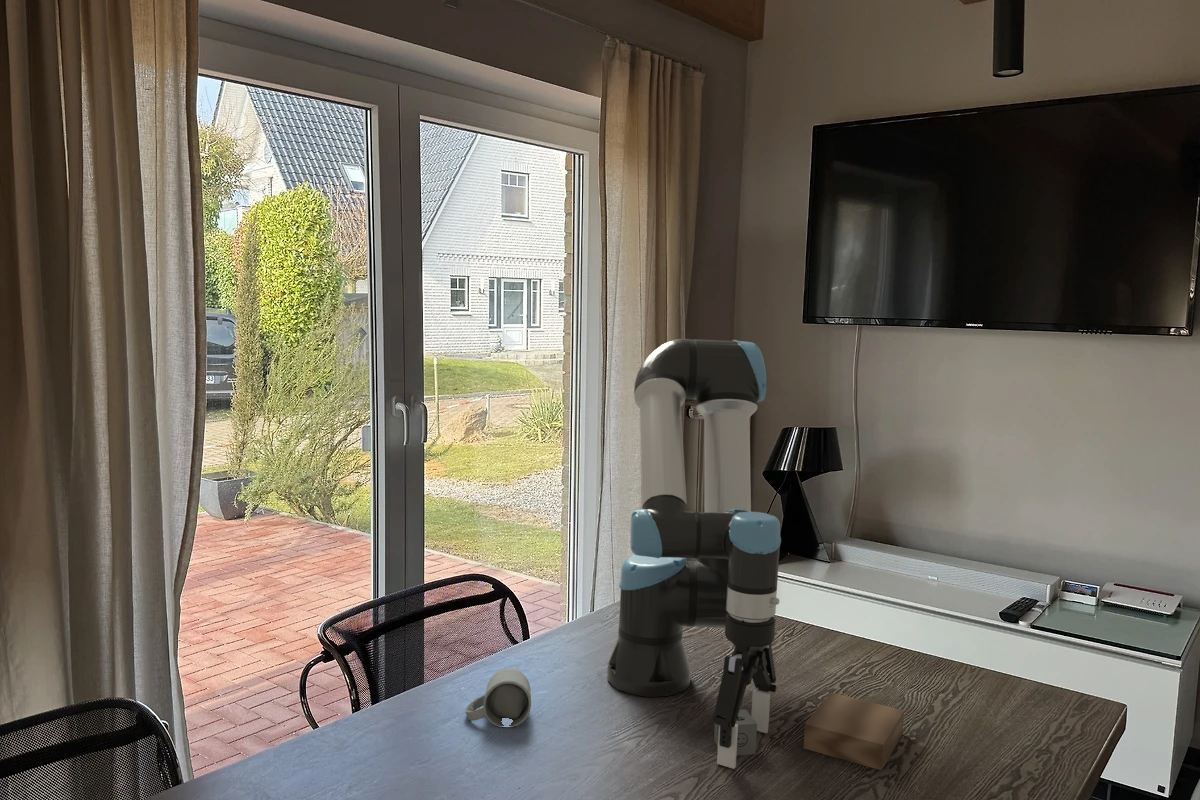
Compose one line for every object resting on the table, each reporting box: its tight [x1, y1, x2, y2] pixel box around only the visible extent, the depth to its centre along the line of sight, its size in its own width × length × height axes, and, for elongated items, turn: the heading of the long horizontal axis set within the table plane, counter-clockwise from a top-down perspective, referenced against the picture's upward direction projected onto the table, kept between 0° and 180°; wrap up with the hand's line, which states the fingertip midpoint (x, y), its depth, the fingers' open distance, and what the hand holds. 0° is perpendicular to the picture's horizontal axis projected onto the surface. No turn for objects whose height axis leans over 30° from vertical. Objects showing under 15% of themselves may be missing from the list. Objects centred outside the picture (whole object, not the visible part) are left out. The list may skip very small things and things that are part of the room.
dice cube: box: [713, 708, 758, 756], centre depth 141 cm, size 5×5×5 cm
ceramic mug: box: [464, 667, 532, 728], centre depth 148 cm, size 11×8×8 cm
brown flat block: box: [803, 691, 905, 771], centre depth 144 cm, size 12×14×4 cm
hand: (743, 747), depth 141 cm, fingers open, 13 cm apart
